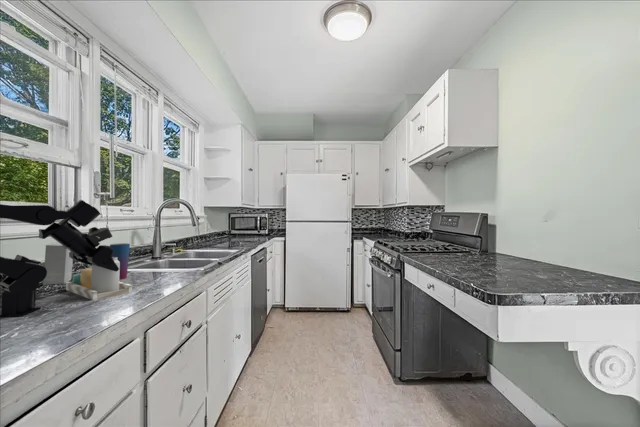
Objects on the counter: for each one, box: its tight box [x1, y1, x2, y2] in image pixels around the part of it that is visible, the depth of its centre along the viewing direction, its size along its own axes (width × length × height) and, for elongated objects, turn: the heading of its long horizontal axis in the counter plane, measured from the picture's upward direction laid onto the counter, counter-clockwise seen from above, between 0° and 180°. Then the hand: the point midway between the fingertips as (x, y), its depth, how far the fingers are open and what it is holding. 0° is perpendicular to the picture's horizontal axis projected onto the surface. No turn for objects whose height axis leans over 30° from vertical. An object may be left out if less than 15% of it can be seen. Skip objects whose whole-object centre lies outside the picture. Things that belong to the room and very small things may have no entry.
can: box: [91, 257, 120, 294], centre depth 95 cm, size 8×8×12 cm
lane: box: [65, 281, 133, 301], centre depth 98 cm, size 22×11×3 cm, turn 58°
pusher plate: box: [72, 273, 81, 285], centre depth 103 cm, size 1×8×5 cm, turn 148°
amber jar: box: [80, 267, 92, 289], centre depth 101 cm, size 7×7×7 cm
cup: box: [109, 242, 131, 281], centre depth 118 cm, size 7×7×15 cm
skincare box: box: [42, 241, 74, 287], centre depth 111 cm, size 8×7×16 cm
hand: (111, 268), depth 97 cm, fingers open, 9 cm apart
